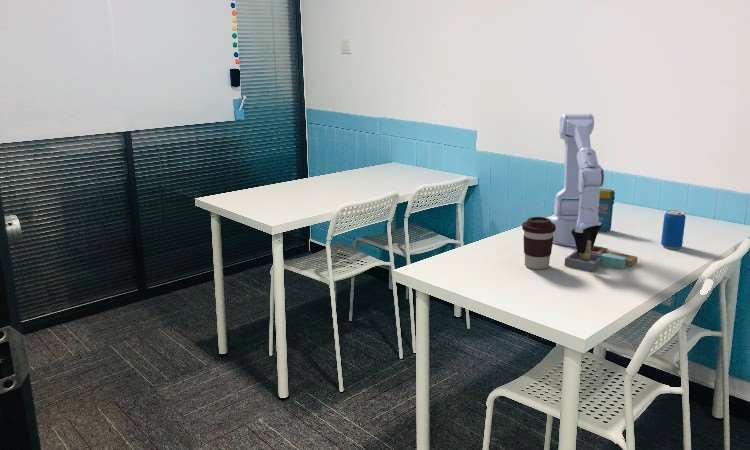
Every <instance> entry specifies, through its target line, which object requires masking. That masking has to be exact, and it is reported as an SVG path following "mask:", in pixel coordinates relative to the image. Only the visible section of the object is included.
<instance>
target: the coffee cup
mask: <svg viewBox="0 0 750 450" xmlns="http://www.w3.org/2000/svg"><path fill="white" fill-rule="evenodd" d="M521 229H522V230H523V235H522V236H523V254H524V266H525V267H526V268H529V269H530V270H531V269H532V270H545V269H547V268H549V266H550V261H551V255H552V249H553V244H554V243H553V232H554V231H555V230H556V225H555V224H554V223H552V222H551V219H550V218H548V217H545V216H544V217H543V216H530V217H529V218H527V221H523V223H522V225H521Z"/></svg>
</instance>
